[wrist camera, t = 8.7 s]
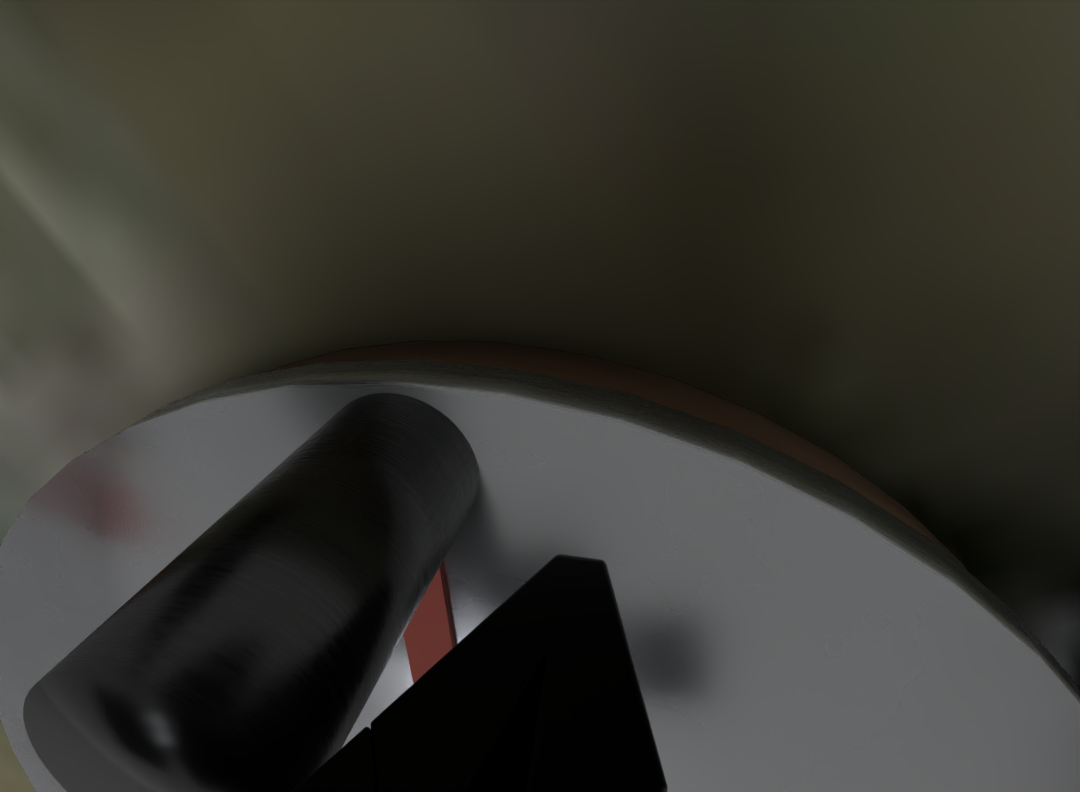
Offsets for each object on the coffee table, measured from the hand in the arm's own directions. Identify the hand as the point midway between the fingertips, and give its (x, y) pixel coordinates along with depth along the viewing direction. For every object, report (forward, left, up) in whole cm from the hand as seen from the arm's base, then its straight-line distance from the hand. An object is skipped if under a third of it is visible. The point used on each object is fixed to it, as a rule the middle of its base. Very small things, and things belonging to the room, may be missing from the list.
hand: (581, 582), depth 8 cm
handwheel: (+13, -1, -3) cm, 14 cm away
